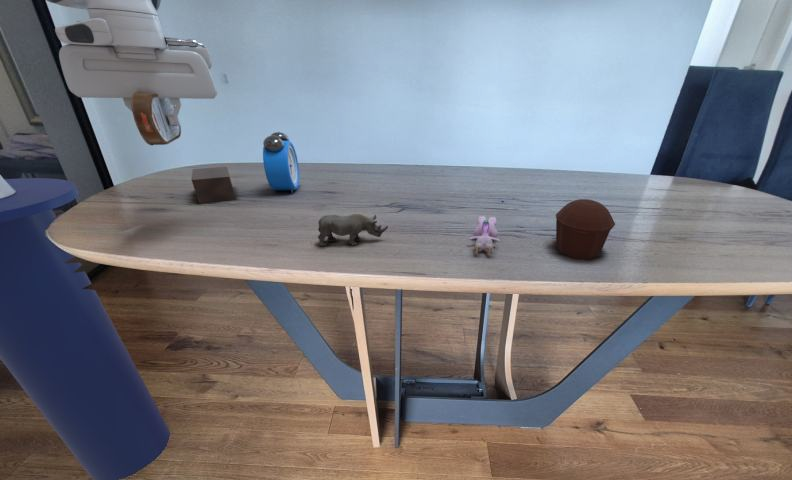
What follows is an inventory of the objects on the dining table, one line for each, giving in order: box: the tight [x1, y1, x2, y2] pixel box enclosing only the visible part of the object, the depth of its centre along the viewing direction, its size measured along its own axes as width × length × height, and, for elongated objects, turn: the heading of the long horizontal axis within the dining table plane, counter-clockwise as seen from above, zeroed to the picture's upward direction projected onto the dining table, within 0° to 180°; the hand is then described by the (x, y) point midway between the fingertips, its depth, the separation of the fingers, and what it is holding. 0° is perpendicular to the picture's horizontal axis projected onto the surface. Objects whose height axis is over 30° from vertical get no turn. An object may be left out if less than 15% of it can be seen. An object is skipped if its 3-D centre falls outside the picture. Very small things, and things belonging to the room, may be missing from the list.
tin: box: [131, 92, 182, 146], centre depth 66 cm, size 15×3×8 cm, turn 20°
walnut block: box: [191, 166, 237, 205], centre depth 97 cm, size 8×12×6 cm, turn 31°
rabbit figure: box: [468, 215, 501, 256], centre depth 76 cm, size 6×6×15 cm
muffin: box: [555, 198, 616, 260], centre depth 73 cm, size 12×11×10 cm
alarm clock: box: [262, 131, 300, 194], centre depth 101 cm, size 13×6×15 cm, turn 11°
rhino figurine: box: [317, 213, 389, 247], centre depth 74 cm, size 4×14×6 cm, turn 101°
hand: (161, 125), depth 67 cm, fingers closed on tin, 3 cm apart
